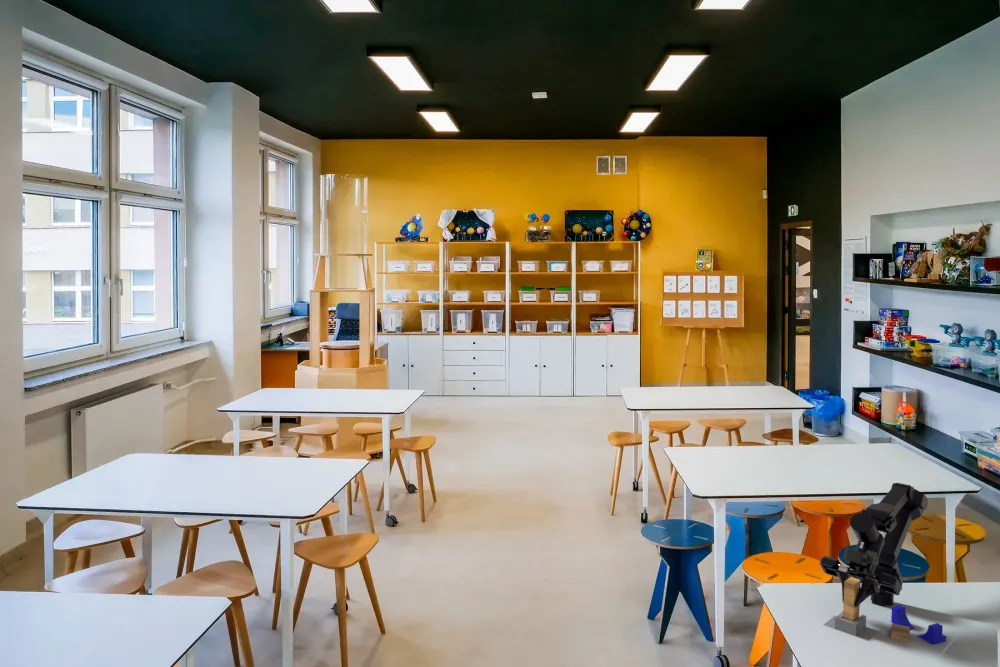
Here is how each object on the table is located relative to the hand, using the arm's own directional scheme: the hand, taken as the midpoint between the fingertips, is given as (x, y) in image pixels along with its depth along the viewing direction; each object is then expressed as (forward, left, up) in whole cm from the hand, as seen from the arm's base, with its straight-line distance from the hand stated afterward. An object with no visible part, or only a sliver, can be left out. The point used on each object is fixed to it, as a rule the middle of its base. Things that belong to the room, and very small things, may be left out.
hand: (849, 604), depth 186 cm
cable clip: (-12, +13, -9) cm, 19 cm away
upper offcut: (-6, +10, -7) cm, 14 cm away
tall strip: (-1, 0, -6) cm, 6 cm away
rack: (-1, 0, -8) cm, 8 cm away
